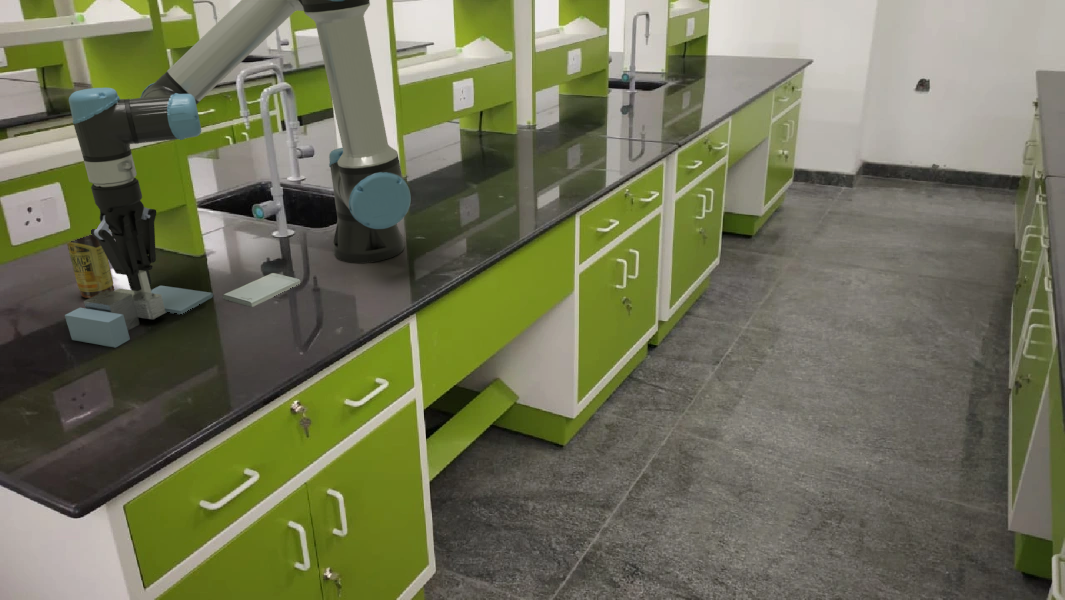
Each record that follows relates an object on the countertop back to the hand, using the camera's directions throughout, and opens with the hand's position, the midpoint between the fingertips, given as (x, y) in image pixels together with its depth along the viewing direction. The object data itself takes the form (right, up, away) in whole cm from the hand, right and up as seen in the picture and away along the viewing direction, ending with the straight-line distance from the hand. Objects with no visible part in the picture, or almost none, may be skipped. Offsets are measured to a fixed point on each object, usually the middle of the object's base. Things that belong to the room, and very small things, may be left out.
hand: (145, 303), depth 150 cm
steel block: (-3, -4, -4) cm, 7 cm away
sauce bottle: (-14, +2, +10) cm, 18 cm away
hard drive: (+19, +2, +9) cm, 21 cm away
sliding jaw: (-2, -1, -1) cm, 3 cm away
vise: (0, -2, 0) cm, 2 cm away
